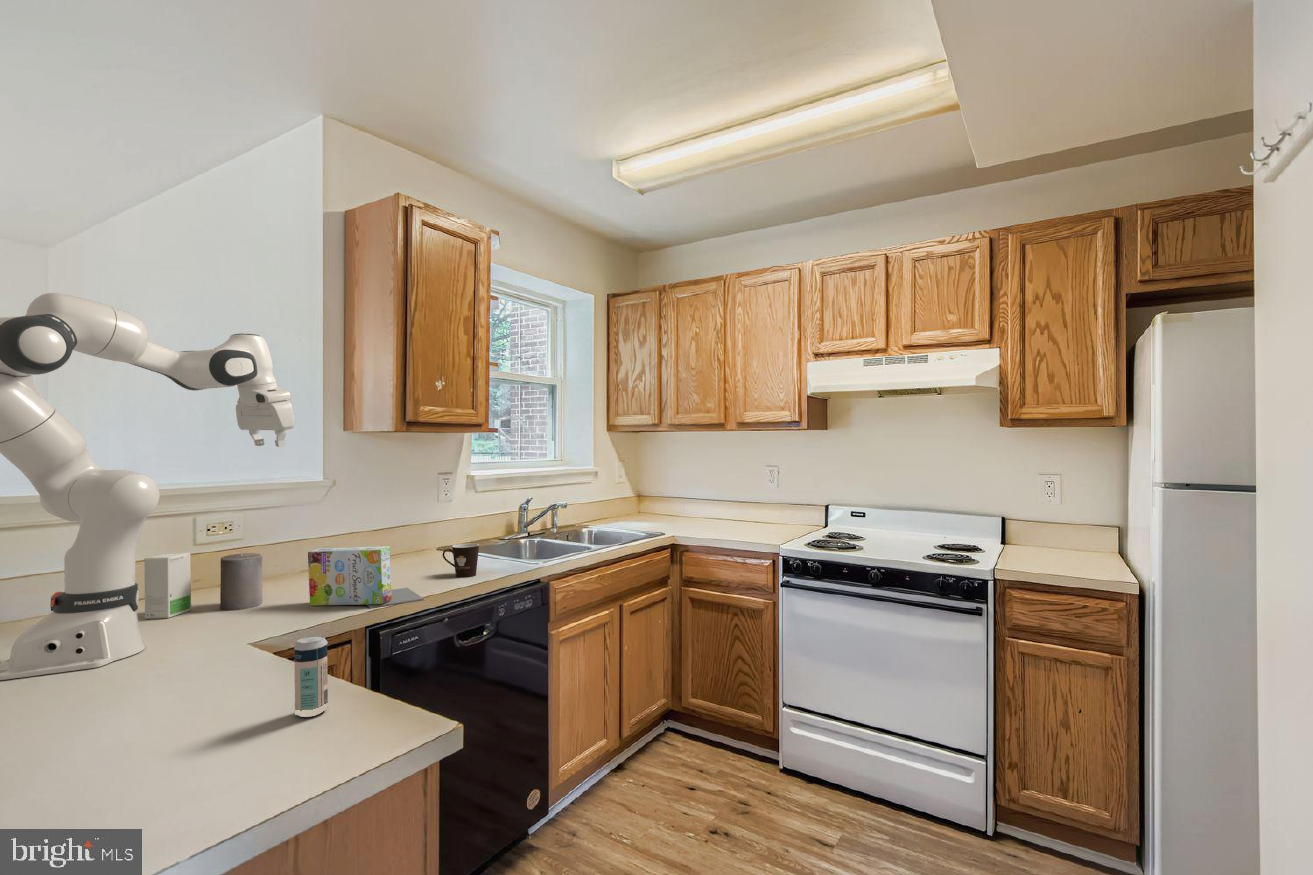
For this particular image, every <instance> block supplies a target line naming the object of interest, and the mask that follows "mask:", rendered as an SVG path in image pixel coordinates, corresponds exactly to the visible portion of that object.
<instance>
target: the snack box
mask: <svg viewBox="0 0 1313 875" xmlns="http://www.w3.org/2000/svg"><path fill="white" fill-rule="evenodd" d="M390 550H391V546H390V545H388V546H360V547H359V546H357V547H356V546H355V547H329V548H325V547H323V548H321V547H320V548H316V549H313V550H310V551H308V552H307V562H308V564H307V567H308V585H309V586H308V587H309V588H308V593H309V606H311V607H312V606H357V605H359V606H361V605H362V606H364V605H365V606H367V604H383V603H386V602H388V601H390V600H392V594H391V590H392V575H391V574H392V573H391V572H392V571H391V551H390Z"/></svg>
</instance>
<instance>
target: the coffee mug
mask: <svg viewBox="0 0 1313 875" xmlns="http://www.w3.org/2000/svg"><path fill="white" fill-rule="evenodd" d="M479 549H480V544H479V543H473V542H470V543H468V542H467V543H466V542H465V543H459V544H458V543H457V544H454V545H452V546H451V548H447V549H444V550H443V551H442V558H443V559H444V561H445V562H447V564H449V565H451V566H453V567H454V573H455V577H456V578H461V579H464V578H465V579H466V578H472V577H475V576H477V569H478V568H477V567H478V560H479V551H480V550H479ZM447 551H448V552H450V553H452V556H453V563H452V562H451V561H450V560H448V559H447V558H446V556H445V553H446V552H447Z"/></svg>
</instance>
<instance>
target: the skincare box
mask: <svg viewBox="0 0 1313 875" xmlns="http://www.w3.org/2000/svg"><path fill="white" fill-rule="evenodd" d="M143 561H144V619H146V620H148V619H149V620H150V619H153V620H154V619H158V620H159V619H170V618H172V617H175V616H178V615H182V614H185V613H187V612H188V613H189V612H190V611H192V585H191V584H192V582H191V581H192V579H191V577H192V574H191V572H192V571H191V570H192V569H191V568H192V567H191V566H192V565H191V552H180V553H166V554H160V555H154V556H149V557H144V559H143Z"/></svg>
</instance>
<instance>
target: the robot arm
mask: <svg viewBox="0 0 1313 875" xmlns="http://www.w3.org/2000/svg"><path fill="white" fill-rule="evenodd" d="M73 351H74V352H78V353H80V354H81V353H82V354H84V355H88V356H91V357H95V358H99V359H104V360H108V361H113V362H114V361H115V362H121V363H126V364H129V365H132V366H134V367H135V366H136V367H139V368H142V369H145V370H148V371H151V372H154V373H157V374H160V375H163V376H164V377H167V378H168V379H169V380H171V381H172V382H174V383H175V384H177V385H178V386H179V387H181V388H183V389H185V390H188V391H202V390H207V389H220V388H231V387H235V386H237V392H238V395H239V397H238V400H237V401H236V402H237V404H236V406H235V414H236V423H237V426H238V428H239V430H242V431H248V433H249V436H250V437H251V438H252V440H253V443H254V446H255V447H261V446H264V445H265V440H264V438H262V436H261V434H260V433H261V431H274V434H275V435H276V438H275V440H274V443H275V444H274V445H275V447H277V448H282V447H285V446H286V441H285V438H286V435H287V431H288V430H291V429H294V427H295V423H296V421H295V415H294V414H295V413H294V410H293V406H292V403H291V401H290V400H291V398H292V397H291V392H290V391H288V390H286V389H283V388H282V387H280V386H278V383H277V380H276V378H275V375H274V372H273V370H274V363H273V359H272V355H271V351H270V349H269V345H268V343H267V341H266V339H265V338H264V337H263V336H261V335H259V334H256V333H255V334H254V333H234V334H231V335H230V336H229V338H228V339H227V340H225V342H223V343H221V344H220V345H218V346H217V347H214V348H212V349H203V350H201V349H200V350H183V351H176V350H173V349H170V348H167V347H164V346H161V345H159V344H156V343H154V342H151V341H149V331H148V329H147V326H146V325H145V323H144V322H143V321H142V320H141V319H140V318H138V317H136V316H134V315H132V314H130V313H128V312H126V311H124V310H121V309H118V308H115V307H112V306H110V305H107V304H103V303H101V302H97V301H93V300H90V299H87V298H82V297H78V296H74V295H70V294H64V293H60V292H59V293H58V292H48V293H43V294H41V295H39V296H37V297H36V298H34V299H33V300H32V301H31V302H30V303H29V306H28V307H27V310H26V314H25V315H24V316H23V315H22V316H10V317H9V316H8V317H7V316H0V454H1V455H2V456H3V457H4V458H5V459H6V460H8V461H9V462H10V463H12V465H13V466H15V467H16V468H17V469H18V470H19V471H20V472H21V473H22V474H23V475H24V476H25V477H26V478H27V479H28V481H29V482H30V483H31V485H32V486H33V488H34V489H35V491H36V492H37V493H38V495H39V502H40V504H41V506H42V508H43V509H44V510H45V511H46V512H47V513H49V514H50V515H53V516H54V517H56V518H60V519H62V520H65V521H69V522H76V523H77V522H78V523H80V525H79V529H78V532H77V535H76V538H75V541H74V542H73V544H72V546H71V547H70V548H69V549H68V550H67V551H66V552H65V554H64V559H63V562H64V564H63V565H64V567H63V568H64V591H56V592H54V593H53V594H52V595H51V596H50V604H49V605H50V606H49V607H50V611H51V613H49V614H48V615H46V616H45V617H43V618H42V619H40V620H39V621H38V622H35V624H33V625H32V626H30V627H29V628H28V629H26V630H25V631H24V632H22V633H20V635H19V636H18V637H17V638H16V639H15V640H14V642H13V644H12V647H11V651H10V655H9V659H7V660H5V661H3V662H1V663H0V681H5V680H12V679H20V678H27V677H35V676H43V675H50V674H56V673H59V674H60V673H65V672H66V673H67V672H73V671H74V672H75V671H80V670H87V669H88V670H89V669H95V668H99V667H103V666H105V665H107V664H110V663H112V662H115V661H119V660H122V659H125V658H128V657H130V656H131V657H132V656H134V655H135V654H138V653H140V652H143V651H144V650H145V649H146V647H147V646H146V644H145V641H144V640H143V635H142V634H141V633H142V632H141V630H140V624H139V623H140V622H139V618H138V611H137V610H138V609H139V604H140V602H139V601H140V598H139V597H140V596H139V595H140V592H139V591H140V590H139V584H138V583H136V552H137V544H138V541H139V536H140V534H141V531H142V528H143V525H144V523H145V521H146V519H147V517H148V516H149V515H150V514H152V513H153V512H154V511H155V509H156V508H157V506H158V504H159V501H160V498H161V497H160V489H159V486H158V485H157V484H156V482H155V480H153V479H152V478H151V477H148V476H147V475H144V474H141V473H139V472H134V471H131V470H125V469H118V470H117V469H116V470H115V469H112V470H111V469H109V470H108V469H104V468H103V467H100V466H99V465H97V464H96V463H95V462H94V461H93V459H92V457H91V456H90V454H89V453H88V450H87V448H86V446H87V441H86V439H85V437H84V436H83V435H82V434H81V432H79V430H77V429H76V428H75V427H74V426H73V425H72V424H71V423H69V421H68V420H67V419H66V418H65V417H64V416H63V415H62V414H60V413H59V412H58V410H56V408H54V406H52V404H50V403H49V402H48V401H47V400H45V398H43V397H42V396H41V394H40V392H38V390H37V389H36V386H35V384H34V383H35V382H34V380H33V375H35V376H36V375H43V374H44V375H45V374H49V373H51V372H54V371H55V370H56V371H57V370H58V369H59V368H61V367H63V366H64V365H65V364H66V363H67V362H68V360H69V359H70V357H71V355H72V353H73Z"/></svg>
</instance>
